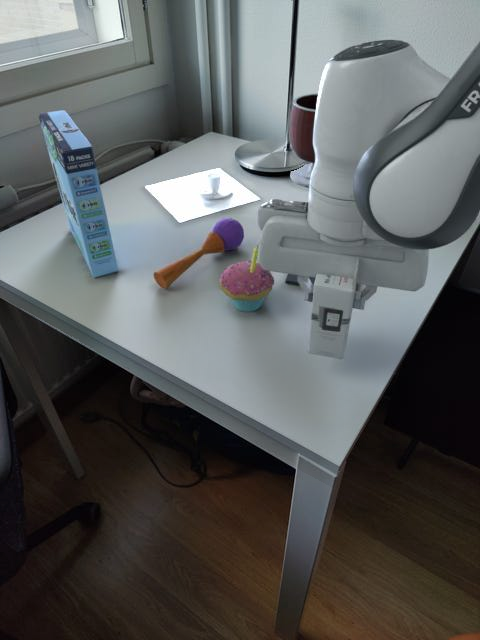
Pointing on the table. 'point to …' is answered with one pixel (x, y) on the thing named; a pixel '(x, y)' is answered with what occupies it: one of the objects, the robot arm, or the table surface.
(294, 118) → the mate gourd
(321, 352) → the ink box
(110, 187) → the table surface
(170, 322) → the table surface
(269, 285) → the cupcake
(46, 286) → the table surface
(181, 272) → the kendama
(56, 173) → the gum box
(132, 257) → the table surface
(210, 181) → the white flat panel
